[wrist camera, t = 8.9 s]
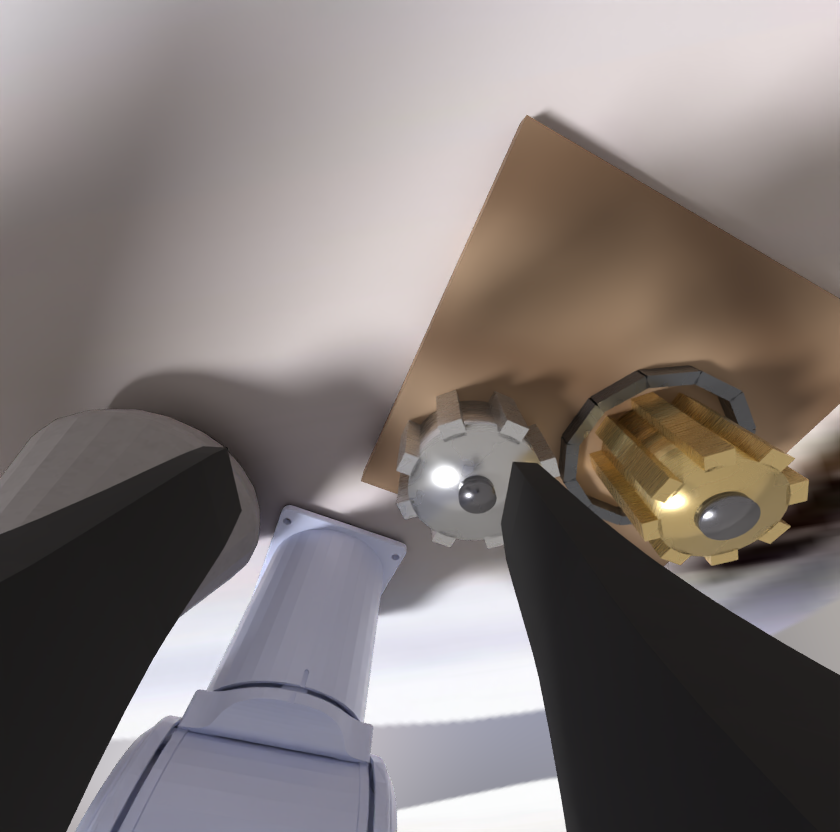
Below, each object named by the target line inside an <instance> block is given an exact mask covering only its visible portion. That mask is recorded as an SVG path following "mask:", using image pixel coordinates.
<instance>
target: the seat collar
mask: <svg viewBox="0 0 840 832" xmlns="http://www.w3.org/2000/svg"><path fill="white" fill-rule="evenodd" d="M693 384H695V385H697V386H699V387H701V388H703V389H705V390H707V391H709V392H712V393H714V394H716V395H717V396H718V399H719V401H720V404H721V406H722V409H723V411H724V414H725V417H727V418H728V419H730V420H732V421H733V422H735V423H737V424H738V425H740V426H742V427H743V428H745V429H747V430H748V431H750V432H752V433H753V434H755V432H756V429H755V428H756V426H755V423H754V420H753V418H752V415H751V412H750V409H749V407H748V404H747V401H746V398H745V395H744V393H743V392H742V391H741V390H739V389H737V388H735V387H733V386H731V385H729V384H727V383H725V382H723V381H721V380H719V379H717V378H715V377H713V376H711V375H709V374H707V373H705V372H703V371H701V370H699V369H697V368H695V367H693V366H689V365H686V366H675V367H664V368H653V369H642V370H638V372H637V371H634V372H632V373H631V374H629V375H627V376H625V377H624V378H622V379H620V380H618V381H617V382H615V383H613V384H611V385H610V386H608V387H606V388H604V389H603V390H601V391H599V392H597V393H595V394H594V395H592V396H590V397H591V399H589V398H588V399H587V401H586V402H585V404H584V405H583V406H582V408H581V409H580V410H579V412H578V413H577V415H576V416H575V417H574V419H573V420H572V422H571V423H570V424H569V426H568V427H567V428H566V430H565V431H564V433H563V434H562V436H563V437H561V446H560V458H559V473H560V477H561V479H562V481H563V483H564V484H565V486H566V487H567V489H568V490H569V491H570V492H571V493H572V494H573V495H574V496H576V497H577V498H578V499H579V500H580V501H581V502H582V503H584V504H585V505H586V506H587V507H588V508H589V509H591V510H592V511H593V512H594V513H595V514H596V515H598V516H599V517H600V518H601V519H604V520H606V521H609V522H611V523H614V524H616V525H618V524H619V525H632V523H631V522H630V520H629V519H628V517H627V516H626V515H625V513H624V512H623V510H622V509H621V508H620V506H617V507H616V506H614V505H611V504H609V503H606V502H604V501H601V500H599V499H596V498H593V497H591V496H588V495H586V493H585V492H584V490H583V489H582V487H581V486H580V484H579V483H578V481H577V480H576V473H577V464H578V454H579V446H580V444H581V443H582V442H583V440H584V439H585V438H586V436H587V435H588V434H589V433H590V431H591V430H592V429H593V427H594V426H595V425H596V423H597V422H598V421H599V419H600V418H601V417H602V415H603V414H604V413H605V412H606V411H608V410H610V409H611V408H613V407H615V406H617V405H619V404H621V403H622V402H624V401H626V400H628V399H630V398H631V397H633V396H635V395H637V394H639V393H641V392H642V391H644V390H646V389H648V388H659V387H671V386H682V385H693Z"/></svg>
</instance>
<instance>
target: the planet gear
mask: <svg viewBox="0 0 840 832" xmlns="http://www.w3.org/2000/svg"><path fill="white" fill-rule="evenodd" d="M630 401H631V407H632V410H631V411H629V412H627V413H626V414H624V415H623V416H622V417H620V418H619V419H618V420H616V419H614V418H611V417H609V416H606V417H605V419H604V420H603V422H602V423H601V424H600V426H599V427H598V428H597V430H596V431H595V433H596V434H597V436H598V437H599V438H600V439H601V440H602V441H603V443H602V447H601V450H600V451H596V452H593V453H590V454H589V455H590V460H591V464H592V468H593V470H594V471H595V473H596V474H597V476H598V477H599V478H600V480H601V481H602V482H603V484H604V485H605V487H606V488H607V489H608V491H609V492H610V494H611V495H612V496H613V498H614V499H615V501H616V502H617V503H618V505H619V506H620V508H621V509H622V510H623V512H624V513H625V515H626V516H627V517H628V519H629V520H630V522H631V523H632V524H633V526H634V527H635V529H636V530H637V531H638V533H639V534H640V536H641V537H642V538H643V540H644V541H645V542H646V541H649V543H650V544H651V546H652V547H653V548H654V550H655V551H656V552H657V554H658V555H659V556H660V558H662V559H664V560H667V561H670V562H673V563H676V564H678V565H681V564H682V563H683V562H685V561H686V560H687V559H688V558H689V557H690V556H703V557H704V558H705V559H706V560H707V561H708V562H709V564H710V565H711V566H713V565H717V564H722V563H726V562H730V561H734V560H738V549H740V548H743V547H745V546H747V545H749V544H751V543H753V542H755V541H756V540H761V541H764V542H766V543H769V544H771V543H772V542H773V541H774V540H775V539H777V538H778V537H779V536H780V535H781V534H783V533H784V532H785V531H786V530H787V529H789V528H790V527H791V526H790V525H788V524H787V523H786V522H785V521H783V520H782V519H781V518H782V517H783V515H784V514H785V512H786V510H787V508H788V505H792V504H796V503H800V502H804V501H807V496H808V484H809V480H808V479H807V478H805V477H803V476H802V475H800V474H799V473H797V472H795V471H794V470H792V469H791V468H789V467H788V465H789V464H790V463H791V462H792V461H793V460H794V459H795V458H793V457H792V456H790V455H788V454H787V453H785V452H783V451H782V450H780V449H778V448H777V447H775V446H773V445H772V444H770V443H768V442H767V441H765V440H763V439H762V438H760V437H758V436H757V435H755V434H753V433H752V432H750V431H748V430H747V429H745V428H743V427H742V426H740V425H738V424H737V423H735V422H733V421H732V420H730V419H728V418H727V417H725V416H723V415H721V414H720V413H718V412H716V411H715V410H713V409H711V408H710V407H708V406H706V405H705V404H703V403H701V402H700V401H698V400H696V399H694V398H692V397H690V396H687V395H685V394H683V393H681V392H679V394H678V395H677V396H676V397H675V398H674V400H673V401H672V402H671V403H668V402H667V401H665V400H664V399H662V398H661V397H659V396H658V395H656V394H655V393H653V392H650V393H647V394H644V395H641V396H638V397H635V398H632V399H630Z"/></svg>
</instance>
